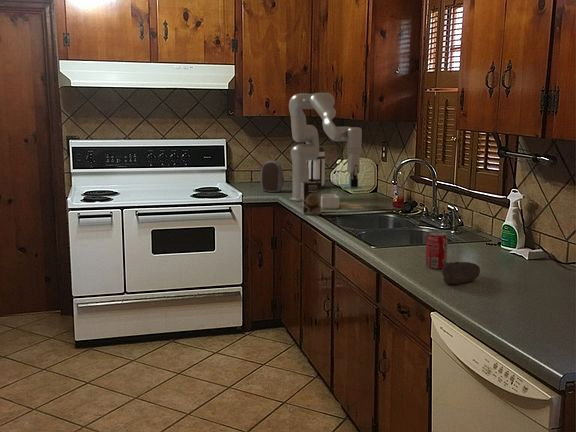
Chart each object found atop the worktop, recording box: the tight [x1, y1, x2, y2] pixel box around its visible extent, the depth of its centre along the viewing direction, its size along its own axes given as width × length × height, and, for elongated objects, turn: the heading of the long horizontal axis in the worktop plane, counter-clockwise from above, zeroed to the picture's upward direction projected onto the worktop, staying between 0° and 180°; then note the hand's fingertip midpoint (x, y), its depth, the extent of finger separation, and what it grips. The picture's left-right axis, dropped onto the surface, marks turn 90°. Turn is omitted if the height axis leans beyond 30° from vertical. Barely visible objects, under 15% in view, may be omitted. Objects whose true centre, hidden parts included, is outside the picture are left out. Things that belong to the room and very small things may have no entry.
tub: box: [321, 193, 340, 210], centre depth 328 cm, size 12×9×6 cm
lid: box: [339, 176, 363, 190], centre depth 325 cm, size 15×10×6 cm, turn 5°
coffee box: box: [299, 182, 322, 216], centre depth 307 cm, size 9×6×16 cm
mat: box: [339, 202, 365, 210], centre depth 329 cm, size 18×12×1 cm, turn 5°
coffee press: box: [306, 145, 326, 190], centre depth 394 cm, size 17×16×30 cm
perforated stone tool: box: [442, 261, 481, 285], centre depth 192 cm, size 15×5×7 cm, turn 113°
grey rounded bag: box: [260, 159, 285, 193], centre depth 379 cm, size 15×8×20 cm, turn 72°
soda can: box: [425, 231, 448, 270], centre depth 209 cm, size 7×7×12 cm
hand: (353, 186), depth 319 cm, fingers closed on lid, 3 cm apart
